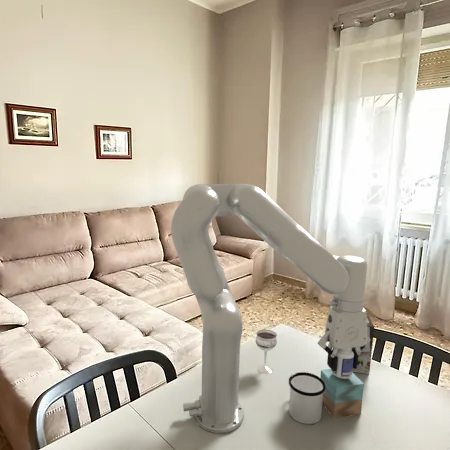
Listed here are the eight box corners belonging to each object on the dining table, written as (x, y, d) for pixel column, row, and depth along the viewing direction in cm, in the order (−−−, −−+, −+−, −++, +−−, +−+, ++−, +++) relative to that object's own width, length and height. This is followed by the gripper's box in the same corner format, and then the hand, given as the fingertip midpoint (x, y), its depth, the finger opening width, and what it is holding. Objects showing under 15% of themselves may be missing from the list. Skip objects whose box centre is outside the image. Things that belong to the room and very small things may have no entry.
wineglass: (279, 370, 112) (281, 335, 110) (265, 377, 108) (267, 341, 106) (264, 360, 117) (266, 327, 115) (250, 367, 113) (251, 333, 111)
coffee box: (370, 374, 111) (375, 327, 108) (349, 371, 112) (353, 324, 109) (364, 359, 120) (369, 315, 117) (345, 357, 121) (349, 313, 118)
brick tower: (333, 418, 91) (336, 387, 89) (318, 399, 99) (321, 369, 97) (360, 414, 93) (363, 383, 91) (344, 395, 100) (346, 366, 99)
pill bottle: (353, 372, 95) (357, 341, 93) (349, 381, 90) (352, 350, 89) (334, 365, 98) (337, 336, 96) (328, 374, 93) (331, 343, 92)
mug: (330, 422, 89) (333, 390, 88) (297, 429, 87) (299, 396, 85) (306, 393, 101) (308, 364, 99) (276, 399, 98) (278, 369, 97)
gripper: (325, 311, 85) (319, 379, 88) (386, 306, 89) (378, 371, 92) (311, 300, 92) (306, 363, 95) (367, 296, 96) (361, 356, 99)
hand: (342, 366), depth 94 cm, fingers open, 5 cm apart
